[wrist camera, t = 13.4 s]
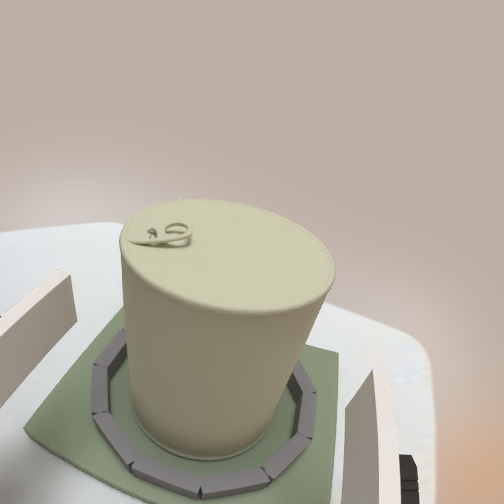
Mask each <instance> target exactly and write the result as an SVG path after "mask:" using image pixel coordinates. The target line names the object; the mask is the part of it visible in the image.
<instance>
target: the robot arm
mask: <svg viewBox="0 0 504 504" xmlns="http://www.w3.org/2000/svg"><path fill="white" fill-rule="evenodd" d="M76 322H77V316H76V310H75V304H74V297H73V291H72V284H71V276H70V274H68V273H66V272H64V271H61V270H59V269H58V270H57V271H55V272H54V273H53V274H51V275H50V276H49V277H48V278H46V279H45V280H44V281H43V282H42V283H40V284H39V285H38V286H37V287H35V288H34V289H33V290H32V291H31V292H29V293H28V294H27V295H26V296H25V297H23V298H22V299H21V300H20V301H19V302H18V303H16V304H15V305H14V306H13V307H12V308H11V309H9V310H8V311H7V312H6V313H5V314H4V315H3V316H2V317H1V316H0V408H1V407H2V406H3V405H4V403H5V402H6V401H7V400H8V398H9V397H10V396H11V395H12V394H13V392H14V391H15V390H16V389H17V388H18V386H19V385H20V384H21V383H22V382H23V381H24V379H25V378H26V377H27V376H28V375H29V374H30V372H31V371H32V370H33V369H34V368H35V367H36V366H37V364H38V363H39V362H40V361H41V360H42V359H43V358H44V357H45V355H46V354H47V353H48V352H49V351H50V350H51V349H52V348H53V347H54V345H55V344H56V343H57V342H58V341H59V340H60V339H61V338H62V337H63V336H64V335H65V334H66V332H67V331H68V330H69V329H70V328H71V327H72V326H73V325H74V324H75V323H76ZM417 480H418V474H417V466H416V464H415V462H414V460H413V458H412V456H411V455H401V454H399V452H398V439H397V429H396V419H395V410H394V402H393V394H392V387H391V380H390V373H389V372H385V371H380V370H375V369H372V371H371V372H370V374H369V375H368V377H367V378H366V380H365V381H364V383H363V384H362V386H361V387H360V389H359V390H358V391H357V393H356V394H355V396H354V397H353V398H352V400H351V401H350V403H349V404H348V405H347V407H346V408H345V444H344V466H343V483H342V496H341V504H419V492H418V490H419V487H418V482H417Z"/></svg>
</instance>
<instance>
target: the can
mask: <svg viewBox="0 0 504 504" xmlns="http://www.w3.org/2000/svg"><path fill="white" fill-rule="evenodd" d="M119 245H120V252H121V263H122V285H123V303H124V317H125V330H126V343H127V354H128V364H129V374H130V384H131V389H130V404H131V409H132V412H133V415H134V417H135V420H136V422H137V423H138V425H139V427H140V428H141V430H142V431H143V432H144V433H145V434H146V436H147V437H149V438H150V439H151V440H152V441H153V442H154V443H155V444H157V445H158V446H159V447H161V448H163V449H164V450H166V451H168V452H170V453H172V454H174V455H177V456H180V457H183V458H187V459H191V460H199V461H217V460H224V459H228V458H232V457H235V456H237V455H240V454H242V453H244V452H246V451H247V450H249V449H251V448H252V447H253V446H255V445H256V444H257V443H258V442H259V441H260V440H261V439H262V438H263V436H264V435H265V433H266V432H267V430H268V428H269V426H270V424H271V420H272V417H273V412H274V410H275V408H276V406H277V404H278V401H279V399H280V397H281V395H282V393H283V391H284V389H285V386H286V384H287V382H288V380H289V378H290V376H291V374H292V371H293V369H294V367H295V365H296V363H297V361H298V358H299V356H300V354H301V352H302V350H303V347H304V345H305V343H306V341H307V338H308V336H309V334H310V331H311V329H312V327H313V324H314V322H315V320H316V318H317V315H318V313H319V311H320V309H321V306H322V304H323V302H324V299H325V297H326V295H327V293H328V292H329V290H330V289H331V287H332V285H333V283H334V279H335V265H334V261H333V258H332V256H331V254H330V253H329V251H328V250H327V248H326V247H325V246H324V245H323V244H322V243H321V241H320V240H319V239H317V238H316V237H315V236H314V235H312V234H311V233H310V232H308V231H307V230H306V229H304V228H303V227H301V226H299V225H297V224H296V223H294V222H292V221H290V220H288V219H286V218H284V217H282V216H279V215H277V214H275V213H272V212H269V211H266V210H263V209H260V208H256V207H253V206H249V205H245V204H240V203H235V202H230V201H222V200H213V199H183V200H174V201H168V202H164V203H160V204H156V205H153V206H150V207H148V208H146V209H143V210H141V211H140V212H138V213H137V214H135V215H134V216H133V217H131V218H130V219H129V220H128V221H127V223H126V224H125V225H124V227H123V229H122V231H121V235H120V240H119Z"/></svg>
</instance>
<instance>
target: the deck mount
mask: <svg viewBox="0 0 504 504" xmlns="http://www.w3.org/2000/svg"><path fill="white" fill-rule="evenodd" d="M130 389H131V384H130V374H129V364H128V354H127V343H126V330H125V317H124V306H123V307H122V308H121V309H120V311H119V312H118V313H117V314H116V315H115V316H114V317H113V319H112V320H111V321H110V322H109V323H108V324H107V325H106V327H105V328H104V329H103V330H102V331H101V332H100V334H99V335H98V336H97V337H96V338H95V339H94V341H93V342H92V343H91V344H90V345H89V346H88V348H87V349H86V350H85V351H84V352H83V354H82V355H81V356H80V357H79V358H78V360H77V361H76V362H75V363H74V364H73V366H72V367H71V368H70V369H69V370H68V372H67V373H66V374H65V375H64V377H63V378H62V379H61V380H60V382H59V383H58V384H57V385H56V387H55V388H54V389H53V390H52V392H51V393H50V394H49V395H48V397H47V398H46V399H45V400H44V402H43V403H42V404H41V406H40V407H39V408H38V409H37V411H36V412H35V413H34V415H33V416H32V417H31V419H30V420H29V421H28V422H27V424H26V425H25V426H24V428H23V429H24V430H25V432H26V433H27V435H28V436H29V437H31V438H32V439H33V440H35V441H36V442H38V443H39V444H41V445H42V446H43V447H45V448H46V449H48V450H49V451H51V452H52V453H54V454H56V455H57V456H59V457H60V458H62V459H63V460H65V461H67V462H68V463H70V464H72V465H73V466H75V467H77V468H78V469H80V470H82V471H84V472H85V473H87V474H89V475H91V476H93V477H94V478H96V479H98V480H100V481H102V482H104V483H106V484H108V485H110V486H112V487H114V488H116V489H118V490H120V491H122V492H124V493H127V494H129V495H131V496H133V497H135V498H138V499H140V500H142V501H145V502H147V503H150V504H330V498H331V488H332V478H333V467H334V454H335V440H336V423H337V400H338V353H337V352H333V351H329V350H325V349H321V348H317V347H313V346H309V345H306V344H305V345H304V347H303V350H302V352H301V354H300V356H299V358H298V361H297V363H296V365H295V367H294V369H293V371H292V374H291V376H290V378H289V380H288V382H287V384H286V386H285V389H284V391H283V393H282V395H281V397H280V399H279V401H278V404H277V406H276V408H275V410H274V412H273V417H272V420H271V424H270V426H269V428H268V430H267V432H266V433H265V435H264V436H263V438H262V439H261V440H260V441H259V442H258V443H257V444H256V445H255V446H253V447H252V448H251V449H249V450H247V451H246V452H244V453H242V454H240V455H237V456H235V457H232V458H228V459H224V460H217V461H199V460H191V459H187V458H183V457H180V456H177V455H174V454H172V453H170V452H168V451H166V450H164V449H163V448H161V447H159V446H158V445H157V444H155V443H154V442H153V441H152V440H151V439H150V438H149V437H147V436H146V434H145V433H144V432H143V431H142V430H141V428H140V427H139V425H138V423H137V422H136V420H135V417H134V415H133V412H132V409H131V404H130Z"/></svg>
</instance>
